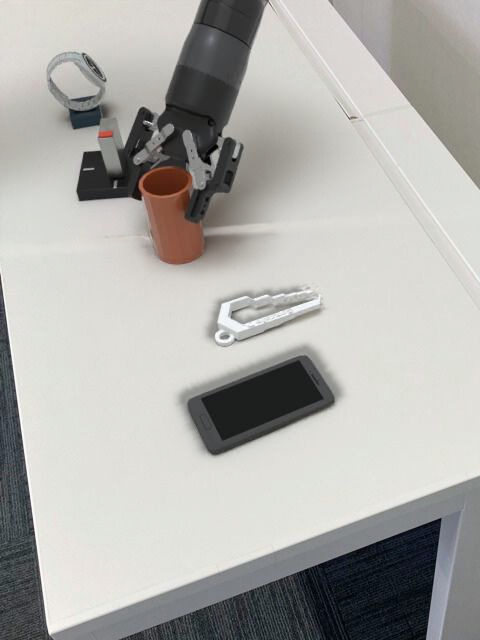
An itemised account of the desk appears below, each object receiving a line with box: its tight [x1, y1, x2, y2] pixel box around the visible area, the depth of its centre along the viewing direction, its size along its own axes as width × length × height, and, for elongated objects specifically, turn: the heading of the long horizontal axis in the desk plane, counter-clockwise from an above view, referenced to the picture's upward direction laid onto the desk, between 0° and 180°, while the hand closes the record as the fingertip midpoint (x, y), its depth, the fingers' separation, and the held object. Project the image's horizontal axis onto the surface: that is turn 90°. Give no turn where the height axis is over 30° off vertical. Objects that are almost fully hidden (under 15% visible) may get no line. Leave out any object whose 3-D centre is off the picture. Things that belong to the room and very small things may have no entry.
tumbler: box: [139, 166, 206, 265], centre depth 93 cm, size 6×6×10 cm
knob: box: [97, 117, 126, 178], centre depth 100 cm, size 5×2×6 cm, turn 8°
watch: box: [46, 51, 108, 131], centre depth 111 cm, size 6×8×11 cm
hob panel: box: [75, 146, 189, 202], centre depth 104 cm, size 14×9×3 cm, turn 97°
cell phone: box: [187, 354, 336, 455], centre depth 79 cm, size 7×14×1 cm, turn 118°
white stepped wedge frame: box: [214, 289, 322, 347], centre depth 88 cm, size 13×5×2 cm, turn 116°
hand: (162, 210), depth 90 cm, fingers open, 8 cm apart
